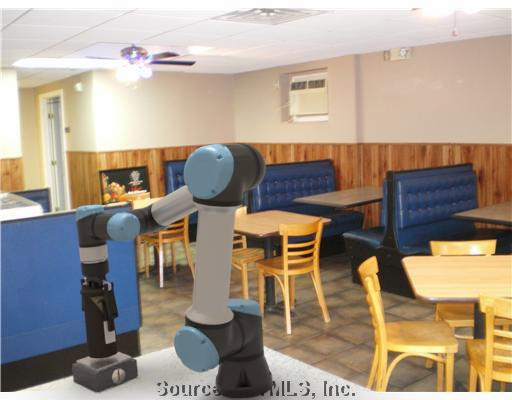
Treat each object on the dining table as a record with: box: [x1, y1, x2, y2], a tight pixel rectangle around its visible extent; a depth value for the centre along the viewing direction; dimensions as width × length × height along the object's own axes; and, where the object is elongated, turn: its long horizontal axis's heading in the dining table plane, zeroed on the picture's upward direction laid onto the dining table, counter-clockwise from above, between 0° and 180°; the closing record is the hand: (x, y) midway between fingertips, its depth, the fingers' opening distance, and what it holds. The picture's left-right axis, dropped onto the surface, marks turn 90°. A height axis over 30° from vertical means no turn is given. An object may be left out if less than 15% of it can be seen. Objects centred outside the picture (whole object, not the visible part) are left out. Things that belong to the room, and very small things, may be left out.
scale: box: [71, 351, 139, 393], centre depth 158 cm, size 14×13×6 cm
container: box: [79, 286, 119, 359], centre depth 157 cm, size 9×9×20 cm
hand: (102, 339), depth 158 cm, fingers closed on container, 8 cm apart
